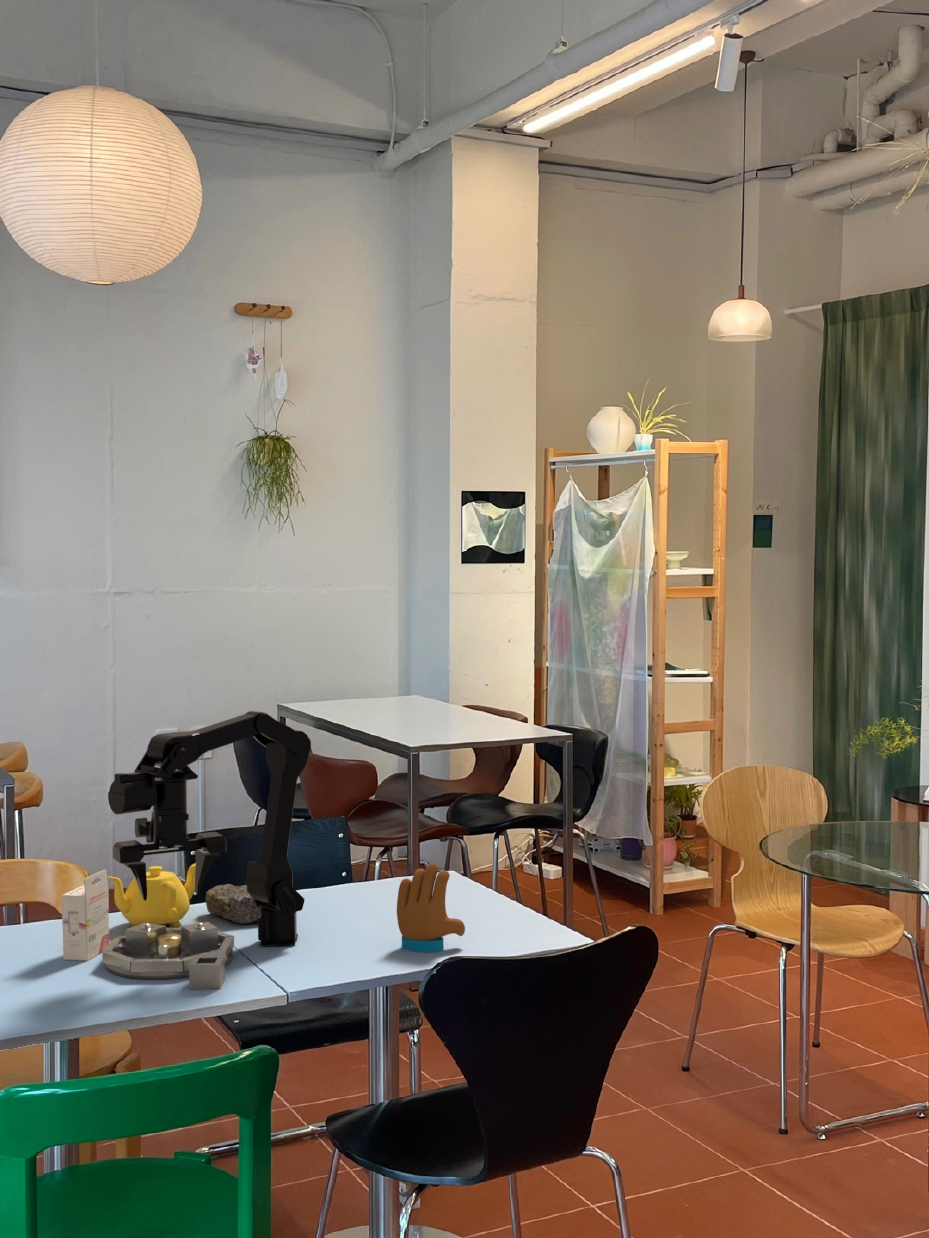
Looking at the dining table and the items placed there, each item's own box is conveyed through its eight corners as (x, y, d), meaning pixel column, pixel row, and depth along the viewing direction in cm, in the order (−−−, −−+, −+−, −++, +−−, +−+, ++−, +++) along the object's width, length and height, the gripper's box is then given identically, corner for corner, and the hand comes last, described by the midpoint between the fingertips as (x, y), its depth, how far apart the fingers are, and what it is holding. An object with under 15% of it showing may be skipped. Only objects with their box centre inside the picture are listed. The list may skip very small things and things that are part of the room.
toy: (467, 944, 231) (466, 863, 230) (453, 955, 224) (453, 871, 224) (406, 939, 235) (406, 859, 234) (391, 949, 228) (391, 867, 228)
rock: (287, 922, 249) (259, 908, 262) (288, 889, 249) (259, 877, 262) (227, 929, 242) (201, 914, 255) (227, 895, 242) (201, 882, 255)
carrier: (241, 942, 233) (241, 911, 233) (222, 978, 211) (222, 944, 211) (122, 944, 232) (121, 912, 232) (90, 980, 210) (90, 946, 210)
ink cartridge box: (85, 946, 231) (84, 867, 231) (110, 948, 230) (109, 868, 230) (61, 960, 223) (60, 877, 222) (87, 961, 222) (86, 878, 221)
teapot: (127, 943, 233) (126, 882, 233) (93, 927, 244) (92, 869, 244) (222, 924, 246) (221, 866, 246) (185, 910, 257) (185, 854, 257)
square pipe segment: (224, 979, 211) (224, 955, 211) (220, 988, 206) (219, 964, 206) (195, 979, 211) (194, 956, 210) (189, 989, 206) (189, 965, 205)
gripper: (207, 795, 229) (208, 880, 229) (104, 805, 220) (105, 893, 220) (227, 804, 219) (228, 893, 219) (120, 814, 210) (121, 907, 210)
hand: (171, 896), depth 217 cm, fingers open, 9 cm apart
